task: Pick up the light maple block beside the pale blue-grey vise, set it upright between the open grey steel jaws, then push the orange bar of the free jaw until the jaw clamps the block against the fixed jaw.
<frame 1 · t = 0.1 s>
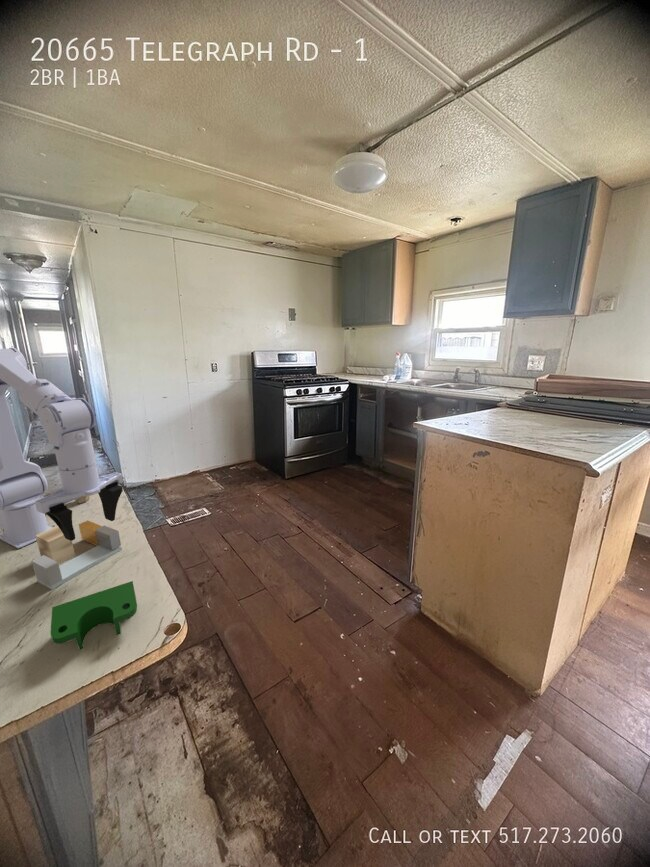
hand: (91, 528, 67), 10 cm above the worktop, tool pointing down, fingers open, 7 cm apart
block: (58, 557, 74), on the worktop
free jaw: (99, 535, 77), point 3 cm above the worktop, slide at 0.0 cm
vise: (82, 564, 71), on the worktop
handle: (83, 501, 98), on the worktop
clamp: (101, 631, 56), on the worktop
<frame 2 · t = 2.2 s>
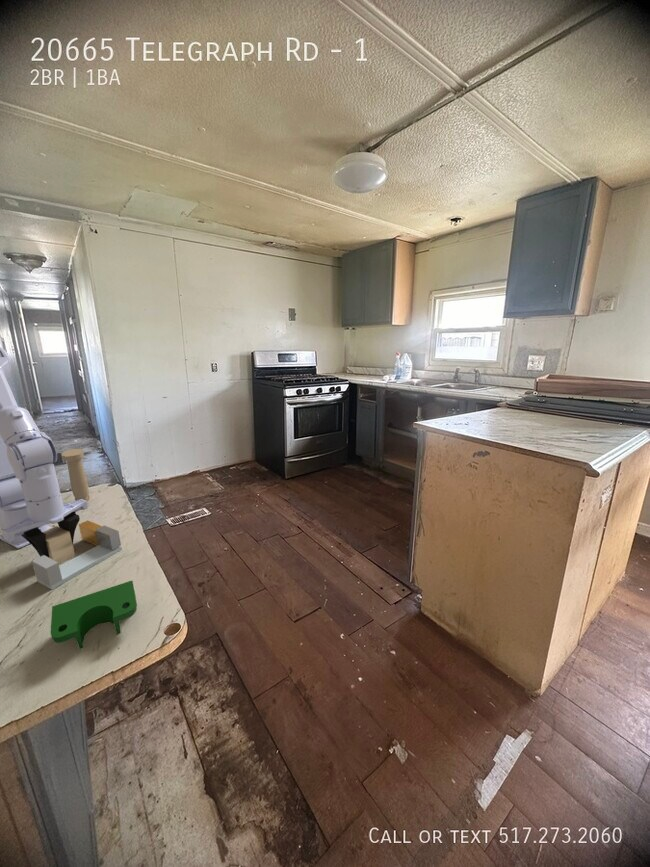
hand: (57, 551, 73), 1 cm above the worktop, tool pointing down, fingers closed on block, 4 cm apart
block: (58, 557, 74), on the worktop, touching gripper
everything else where it was.
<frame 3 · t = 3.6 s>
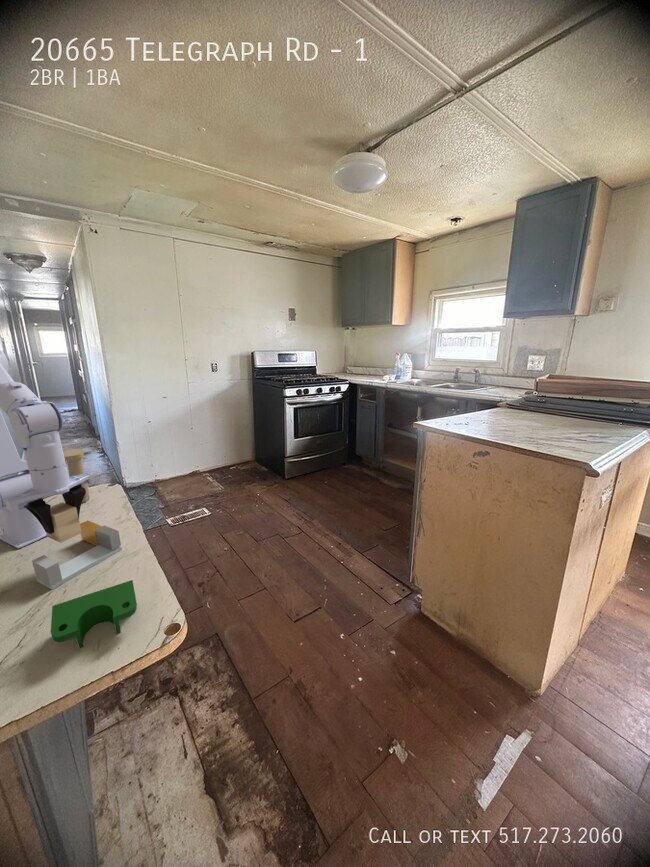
hand: (62, 526, 70), 9 cm above the worktop, tool pointing down, fingers closed on block, 4 cm apart
block: (64, 534, 70), point 7 cm above the worktop, touching gripper
everything else where it was.
when the fingers open (3 cm above the worktop, at t = 5.2 s): block stays where it is, resting on vise.
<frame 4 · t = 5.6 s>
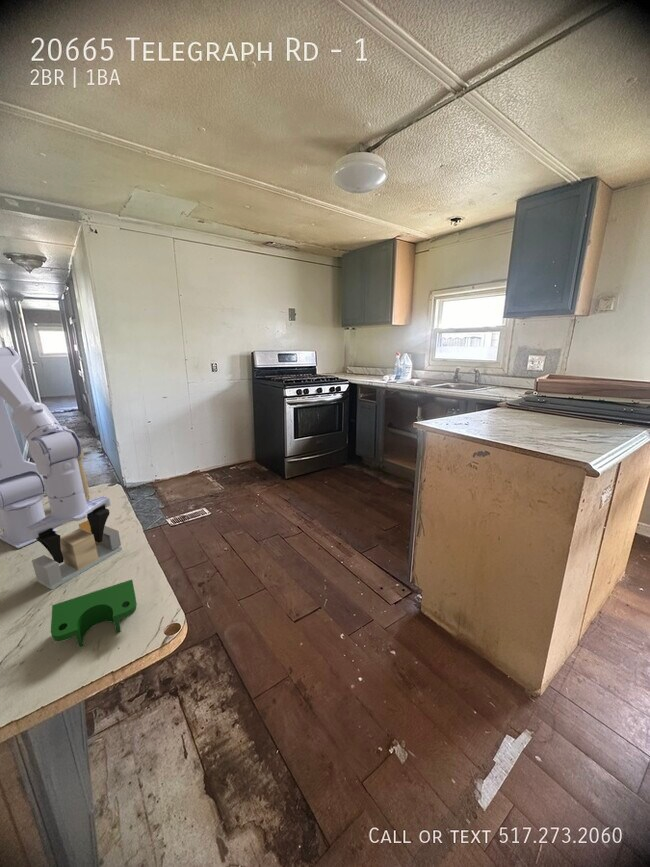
hand: (79, 550, 70), 3 cm above the worktop, tool pointing down, fingers open, 7 cm apart
block: (81, 561, 71), point 1 cm above the worktop, touching vise
everything else where it was.
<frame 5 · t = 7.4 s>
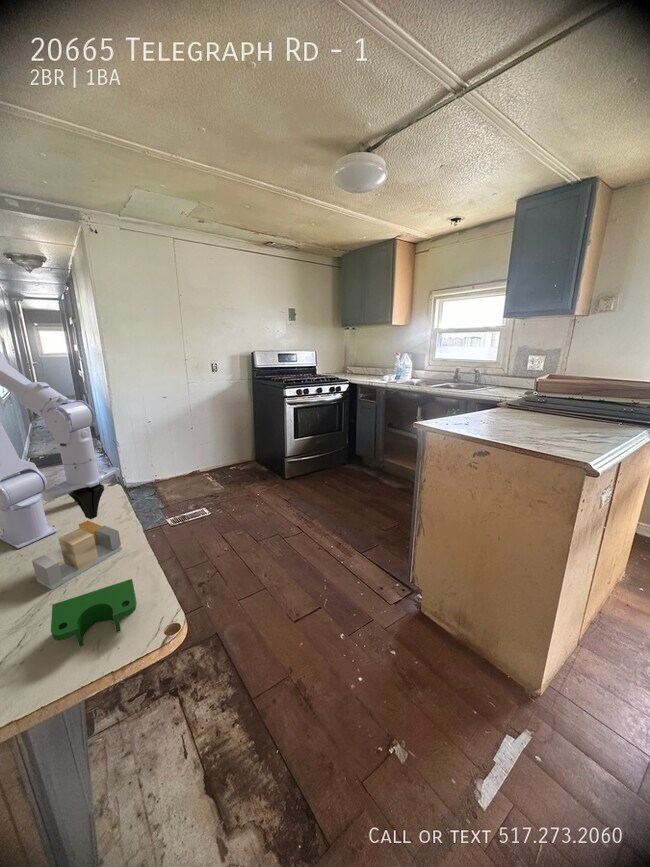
hand: (91, 517, 75), 8 cm above the worktop, tool pointing down, fingers closed
nothing on the worktop moved.
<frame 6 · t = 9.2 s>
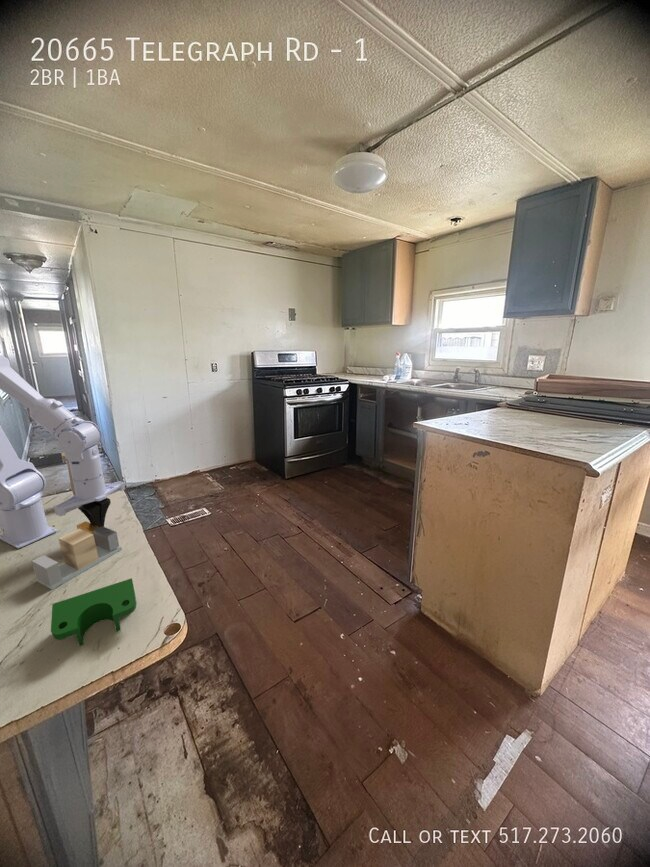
hand: (98, 528, 80), 2 cm above the worktop, tool pointing down, fingers closed
free jaw: (97, 536, 77), point 3 cm above the worktop, slide at 0.4 cm, touching gripper
everything else where it was.
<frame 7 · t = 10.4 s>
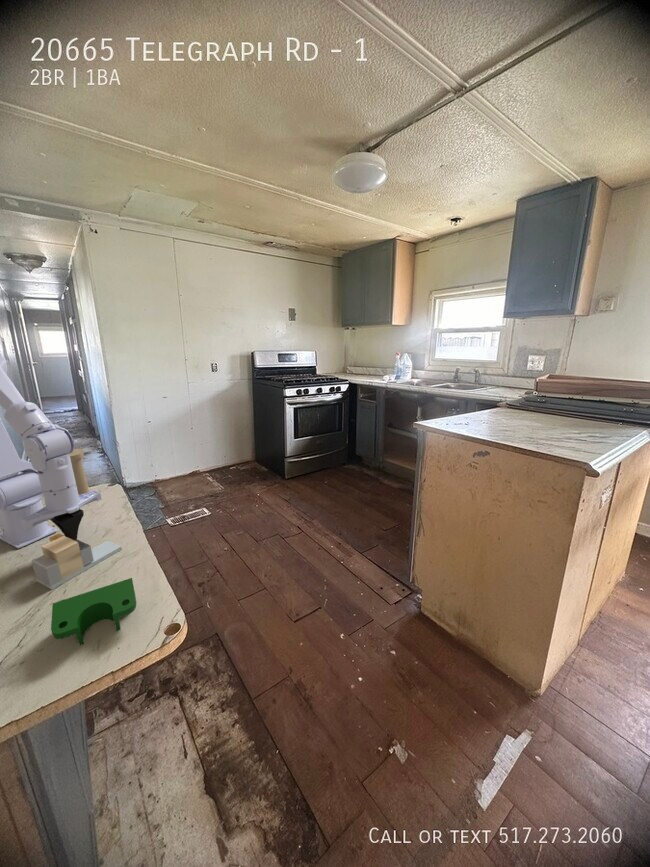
hand: (72, 541, 75), 2 cm above the worktop, tool pointing down, fingers closed
block: (66, 569, 69), point 1 cm above the worktop, touching free jaw, vise
free jaw: (71, 549, 72), point 3 cm above the worktop, slide at 6.0 cm, touching block, gripper
everything else where it was.
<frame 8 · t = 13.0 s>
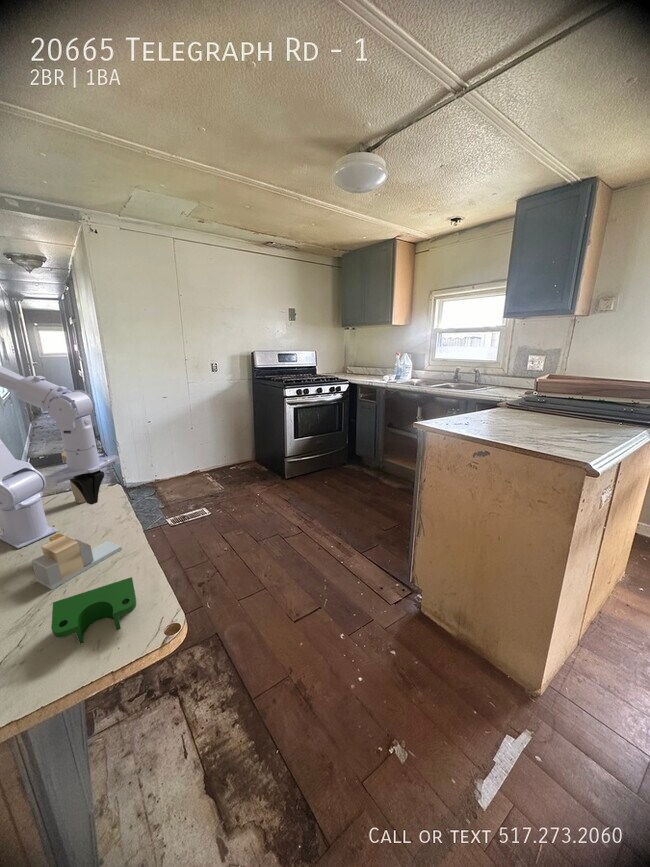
hand: (92, 502, 78), 9 cm above the worktop, tool pointing down, fingers closed
block: (66, 569, 69), point 1 cm above the worktop, touching vise
free jaw: (71, 549, 72), point 3 cm above the worktop, slide at 6.0 cm
at the end: free jaw slide at 6.0 cm; block 0.1 cm from the target spot, point 0.8 cm above the worktop; block tilted 0° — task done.
